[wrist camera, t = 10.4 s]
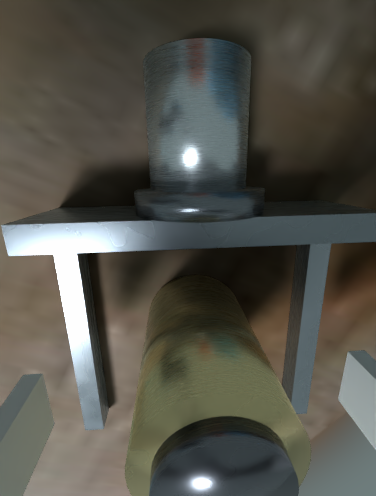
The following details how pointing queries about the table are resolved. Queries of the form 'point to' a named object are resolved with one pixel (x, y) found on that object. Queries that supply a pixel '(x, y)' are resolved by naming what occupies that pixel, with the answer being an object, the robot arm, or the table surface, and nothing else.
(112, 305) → the table surface
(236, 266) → the table surface
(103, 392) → the flange cradle
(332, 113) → the table surface
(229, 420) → the yellow jar
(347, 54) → the table surface
